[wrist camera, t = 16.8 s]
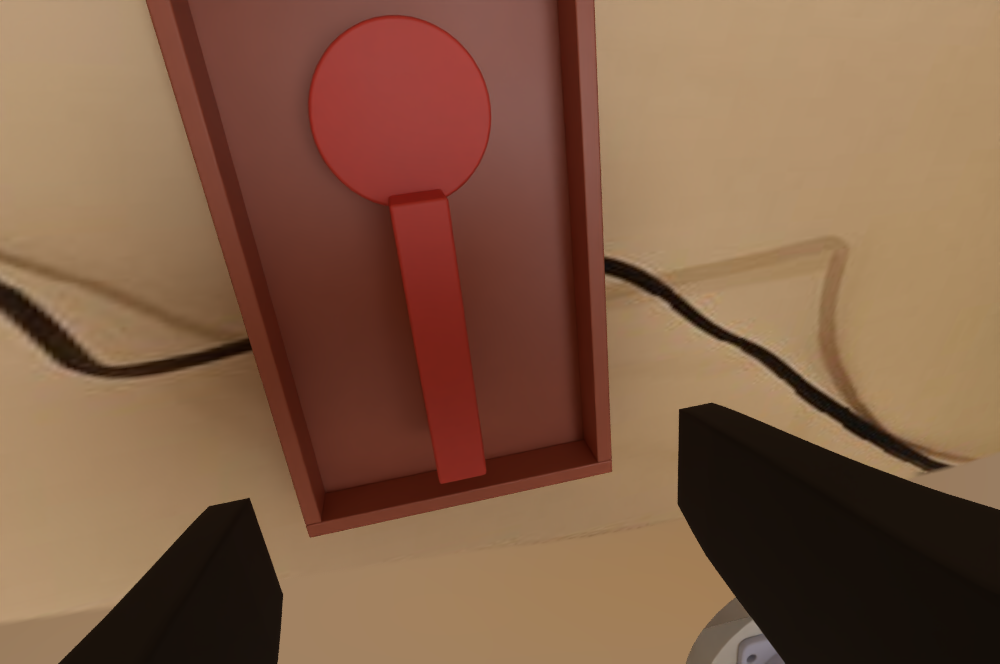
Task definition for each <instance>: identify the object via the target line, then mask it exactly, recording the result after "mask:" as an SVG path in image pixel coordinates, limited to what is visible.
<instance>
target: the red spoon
mask: <svg viewBox="0 0 1000 664" xmlns="http://www.w3.org/2000/svg"><path fill="white" fill-rule="evenodd" d="M308 113H309V121H310V128H311V131H312V135H313V138H314V142H315V144H316V146H317V149H318V151H319V153H320V155H321V157H322V158H323V160H324V162H325V163H326V165H327V166H328V167H329V169H330V170H331V171H332V173H333V174H334V175H335V176H336V177H337V178H338V179H339V180H340V181H341V182H342V183H343V184H344V185H345V186H347V187H348V188H349V189H350V190H351V191H353V192H355V193H356V194H358V195H359V196H361V197H363V198H365V199H367V200H369V201H372V202H374V203H378V204H381V205H384V206H389V211H390V216H391V222H392V227H393V232H394V238H395V243H396V249H397V254H398V260H399V265H400V271H401V276H402V282H403V287H404V293H405V298H406V304H407V309H408V315H409V320H410V326H411V331H412V337H413V342H414V348H415V353H416V359H417V364H418V370H419V375H420V381H421V386H422V392H423V397H424V403H425V408H426V414H427V419H428V425H429V430H430V436H431V441H432V446H433V452H434V457H435V463H436V468H437V474H438V479H439V482H440V483H441V484H444V483H449V482H453V481H458V480H463V479H467V478H472V477H477V476H482V475H485V474H486V472H487V470H486V463H485V455H484V448H483V441H482V434H481V427H480V420H479V413H478V406H477V399H476V392H475V385H474V377H473V370H472V363H471V356H470V349H469V342H468V335H467V328H466V321H465V314H464V307H463V299H462V292H461V285H460V278H459V271H458V264H457V257H456V250H455V243H454V236H453V229H452V222H451V214H450V207H449V200H448V198H447V197H448V196H449V195H451V194H452V193H454V192H455V191H457V190H458V189H459V188H460V187H461V186H462V185H463V184H465V183H466V182H467V180H468V179H469V178H470V177H471V176H472V174H473V173H474V172H475V170H476V169H477V167H478V165H479V164H480V162H481V160H482V158H483V155H484V153H485V150H486V147H487V144H488V140H489V135H490V130H491V105H490V99H489V93H488V90H487V87H486V83H485V81H484V78H483V76H482V74H481V71H480V69H479V68H478V66H477V64H476V62H475V61H474V59H473V58H472V56H471V55H470V54H469V52H468V51H467V50H466V49H465V48H464V47H463V46H462V44H461V43H460V42H459V41H458V40H457V39H455V38H454V37H453V36H452V35H450V34H449V33H448V32H446V31H445V30H443V29H441V28H440V27H438V26H436V25H434V24H432V23H430V22H427V21H425V20H422V19H418V18H414V17H410V16H402V15H385V16H380V17H374V18H371V19H368V20H365V21H362V22H360V23H358V24H356V25H354V26H352V27H350V28H349V29H347V30H346V31H345V32H343V33H342V34H340V35H339V36H338V37H337V38H336V39H335V40H334V41H333V42H332V43H331V44H330V46H329V47H328V48H327V49H326V51H325V52H324V53H323V55H322V57H321V59H320V60H319V62H318V64H317V66H316V69H315V72H314V74H313V77H312V81H311V85H310V89H309V99H308Z"/></svg>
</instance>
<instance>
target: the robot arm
mask: <svg viewBox="0 0 1000 664" xmlns="http://www.w3.org/2000/svg"><path fill="white" fill-rule="evenodd" d="M678 506H679V507H680V509H681V511H682V513H683V515H684V517H685V519H686V521H687V522H688V524H689V526H690V528H691V530H692V532H693V534H694V535H695V537H696V539H697V541H698V542H699V544H700V546H701V547H702V549H703V551H704V553H705V554H706V556H707V557H708V559H709V560H710V562H711V563H712V564H713V566H714V567H715V569H716V570H717V571H718V573H719V574H720V576H721V577H722V578H723V580H724V581H725V582H726V584H727V585H728V587H729V588H730V589H731V591H732V592H733V594H734V595H735V596H736V598H737V599H738V600H739V602H740V603H741V604H742V606H743V607H744V608H745V610H746V611H747V613H748V614H749V615H750V617H751V618H752V619H753V621H754V622H755V623H756V625H757V626H758V627H759V629H760V630H761V631H762V633H763V634H760V635H757V636H753V637H749V638H746V639H744V640H743V641H742V642H741V643H740V645H739V650H738V663H737V664H1000V510H998V509H995V508H992V507H988V506H985V505H982V504H978V503H975V502H972V501H969V500H965V499H962V498H959V497H956V496H952V495H949V494H946V493H942V492H940V491H937V490H934V489H931V488H928V487H925V486H922V485H919V484H916V483H913V482H911V481H908V480H905V479H903V478H900V477H897V476H894V475H892V474H889V473H886V472H883V471H881V470H878V469H875V468H873V467H870V466H867V465H865V464H862V463H860V462H857V461H854V460H852V459H849V458H847V457H844V456H842V455H839V454H837V453H834V452H832V451H829V450H827V449H825V448H822V447H820V446H817V445H815V444H813V443H810V442H808V441H805V440H803V439H801V438H798V437H796V436H794V435H791V434H789V433H786V432H784V431H782V430H779V429H777V428H775V427H772V426H770V425H768V424H765V423H763V422H761V421H758V420H756V419H754V418H751V417H749V416H746V415H744V414H741V413H739V412H736V411H734V410H731V409H729V408H726V407H723V406H720V405H717V404H714V403H708V404H703V405H698V406H693V407H688V408H683V409H679V452H678ZM282 601H283V593H282V591H281V588H280V585H279V582H278V579H277V576H276V573H275V570H274V567H273V564H272V561H271V559H270V556H269V553H268V550H267V547H266V544H265V541H264V538H263V535H262V533H261V530H260V527H259V524H258V521H257V518H256V515H255V512H254V509H253V507H252V504H251V501H250V498H247V499H242V500H237V501H232V502H228V503H223V504H218V505H213V506H209V507H208V508H207V509H206V510H205V511H204V512H203V513H202V514H201V515H200V516H199V517H198V518H197V519H196V520H195V521H194V522H193V523H192V524H191V525H190V526H189V527H188V528H187V529H186V530H185V532H184V533H183V534H182V535H181V536H180V537H179V538H178V539H177V540H176V541H175V542H174V544H173V545H172V546H171V547H170V548H169V549H168V550H167V551H166V552H165V553H164V554H163V556H162V557H161V558H160V559H159V560H158V561H157V562H156V563H155V564H154V565H153V566H152V568H151V569H150V570H149V571H148V572H147V573H146V574H145V575H144V576H143V577H142V578H141V579H140V580H139V581H138V583H137V584H136V585H135V586H134V587H133V588H132V589H131V590H130V591H129V592H128V593H127V594H126V595H125V596H124V598H123V599H122V600H121V601H120V602H119V603H118V604H117V605H116V606H115V607H114V608H113V609H112V610H111V611H110V612H109V614H108V615H107V616H106V617H105V618H104V619H103V620H102V621H101V622H100V623H99V624H98V625H97V626H96V627H95V628H94V629H93V630H92V631H91V632H90V633H89V634H88V635H87V636H86V637H85V638H84V639H83V640H82V641H81V642H80V643H79V644H78V645H77V646H76V647H75V648H74V649H73V650H72V651H71V652H70V653H69V654H68V655H67V656H66V657H65V658H64V659H63V660H62V661H61V662H60V663H59V664H277V662H278V653H279V642H280V631H281V617H282Z"/></svg>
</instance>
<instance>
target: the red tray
mask: <svg viewBox="0 0 1000 664" xmlns="http://www.w3.org/2000/svg"><path fill="white" fill-rule="evenodd" d="M146 3H147V6H148V9H149V13H150V16H151V19H152V23H153V26H154V29H155V32H156V36H157V39H158V42H159V45H160V49H161V52H162V55H163V59H164V62H165V65H166V68H167V72H168V75H169V78H170V82H171V85H172V88H173V91H174V95H175V98H176V101H177V104H178V108H179V111H180V114H181V118H182V121H183V124H184V127H185V131H186V134H187V137H188V141H189V144H190V147H191V150H192V154H193V157H194V160H195V163H196V167H197V170H198V173H199V177H200V180H201V183H202V186H203V190H204V193H205V196H206V200H207V203H208V206H209V209H210V213H211V216H212V219H213V223H214V226H215V229H216V232H217V236H218V239H219V242H220V245H221V249H222V252H223V255H224V259H225V262H226V265H227V268H228V272H229V275H230V278H231V282H232V285H233V288H234V291H235V295H236V298H237V301H238V304H239V308H240V311H241V314H242V318H243V321H244V324H245V327H246V331H247V334H248V337H249V341H250V344H251V347H252V350H253V354H254V357H255V360H256V363H257V367H258V370H259V373H260V377H261V380H262V383H263V386H264V390H265V393H266V396H267V400H268V403H269V406H270V409H271V413H272V416H273V419H274V423H275V426H276V429H277V432H278V436H279V439H280V442H281V445H282V449H283V452H284V455H285V459H286V462H287V465H288V468H289V472H290V475H291V478H292V482H293V485H294V488H295V491H296V495H297V498H298V501H299V504H300V508H301V511H302V514H303V518H304V521H305V524H306V528H307V531H308V534H309V537H315V536H320V535H324V534H329V533H334V532H338V531H343V530H347V529H352V528H357V527H361V526H366V525H370V524H375V523H379V522H384V521H389V520H393V519H398V518H402V517H407V516H411V515H416V514H421V513H425V512H430V511H434V510H439V509H444V508H448V507H453V506H457V505H462V504H466V503H471V502H476V501H480V500H485V499H489V498H494V497H498V496H503V495H508V494H512V493H517V492H521V491H526V490H530V489H535V488H540V487H544V486H549V485H553V484H558V483H563V482H567V481H572V480H576V479H581V478H585V477H590V476H595V475H599V474H604V473H608V472H612V460H611V459H612V456H611V430H610V403H609V377H608V350H607V324H606V297H605V271H604V245H603V218H602V192H601V165H600V139H599V112H598V86H597V60H596V33H595V7H594V0H146ZM385 15H402V16H410V17H414V18H418V19H422V20H425V21H427V22H430V23H432V24H434V25H436V26H438V27H440V28H441V29H443V30H445V31H446V32H448V33H449V34H450V35H452V36H453V37H454V38H455V39H457V40H458V41H459V42H460V43H461V44H462V46H463V47H464V48H465V49H466V50H467V51H468V52H469V54H470V55H471V56H472V58H473V59H474V61H475V62H476V64H477V66H478V68H479V69H480V71H481V74H482V76H483V78H484V81H485V83H486V87H487V90H488V93H489V99H490V105H491V130H490V135H489V140H488V144H487V147H486V150H485V153H484V155H483V158H482V160H481V162H480V164H479V165H478V167H477V169H476V170H475V172H474V173H473V174H472V176H471V177H470V178H469V179H468V180H467V182H466V183H465V184H463V185H462V186H461V187H460V188H459V189H458V190H457V191H455V192H454V193H452V194H451V195H449V196H448V197H447V198H448V200H449V207H450V214H451V222H452V229H453V236H454V243H455V250H456V257H457V264H458V271H459V278H460V285H461V292H462V299H463V307H464V314H465V321H466V328H467V335H468V342H469V349H470V356H471V363H472V370H473V377H474V385H475V392H476V399H477V406H478V413H479V420H480V427H481V434H482V441H483V448H484V455H485V463H486V470H487V472H486V474H485V475H482V476H477V477H472V478H467V479H463V480H458V481H453V482H449V483H444V484H441V483H440V482H439V479H438V474H437V468H436V463H435V457H434V452H433V446H432V441H431V436H430V430H429V425H428V419H427V414H426V408H425V403H424V397H423V392H422V386H421V381H420V375H419V370H418V364H417V359H416V353H415V348H414V342H413V337H412V331H411V326H410V320H409V315H408V309H407V304H406V298H405V293H404V287H403V282H402V276H401V271H400V265H399V260H398V254H397V249H396V243H395V238H394V232H393V227H392V222H391V216H390V211H389V206H384V205H381V204H378V203H374V202H372V201H369V200H367V199H365V198H363V197H361V196H359V195H358V194H356V193H355V192H353V191H351V190H350V189H349V188H348V187H347V186H345V185H344V184H343V183H342V182H341V181H340V180H339V179H338V178H337V177H336V176H335V175H334V174H333V173H332V171H331V170H330V169H329V167H328V166H327V165H326V163H325V162H324V160H323V158H322V157H321V155H320V153H319V151H318V149H317V146H316V144H315V142H314V138H313V135H312V131H311V128H310V121H309V113H308V99H309V89H310V85H311V81H312V77H313V74H314V72H315V69H316V66H317V64H318V62H319V60H320V59H321V57H322V55H323V53H324V52H325V51H326V49H327V48H328V47H329V46H330V44H331V43H332V42H333V41H334V40H335V39H336V38H337V37H338V36H339V35H340V34H342V33H343V32H345V31H346V30H347V29H349V28H350V27H352V26H354V25H356V24H358V23H360V22H362V21H365V20H368V19H371V18H374V17H380V16H385Z"/></svg>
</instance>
